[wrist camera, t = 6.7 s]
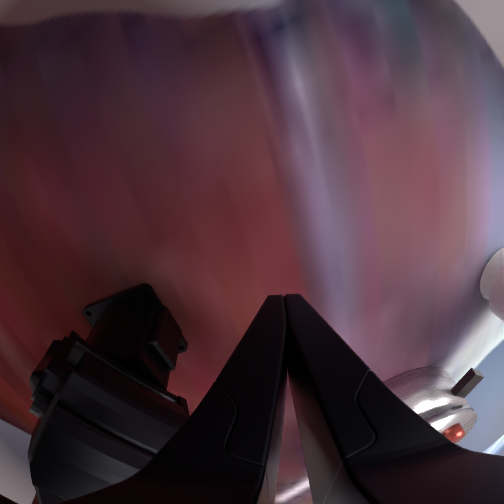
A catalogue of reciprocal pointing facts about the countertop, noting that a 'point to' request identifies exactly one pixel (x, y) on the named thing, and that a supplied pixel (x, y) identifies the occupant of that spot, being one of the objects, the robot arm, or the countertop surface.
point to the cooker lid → (454, 422)
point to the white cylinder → (494, 283)
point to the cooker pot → (432, 389)
